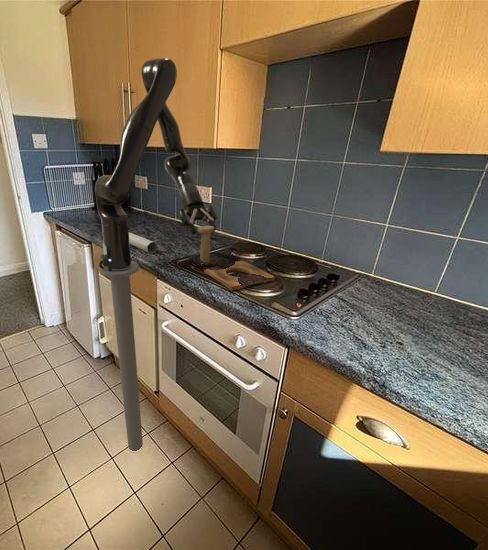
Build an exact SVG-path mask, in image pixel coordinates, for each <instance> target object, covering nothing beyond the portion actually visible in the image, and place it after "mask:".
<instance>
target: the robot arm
mask: <svg viewBox="0 0 488 550" xmlns="http://www.w3.org/2000/svg"><path fill="white" fill-rule="evenodd" d="M140 72H141V73H140V74H141V80H142V83H143V86H144V89H145V91H146V92H145V93H146V95H145V97H143V99H142V100H140V102H139V103H138V104H137V105H136V106H135V107H134V108H133V110H131V112H129V115H128V116H127V119H126V120H125V122H124V126H123V128H122V130H121V133H120V138H119V158H118V161H117V163H116V166H115V168H114V171H113V173H112V174H104V175H101V176H100V177H98V178H97V180H96V182H95V184H94V185H95V186H94V194H95V202H96V207H97V213H98V216H99V218H100V223H101V228H102V229H101V231H102V239H103V241H102V252H103V254H100V255H99V258H100V261H99V263H98V267H100V268H101V269H104V267H106V268H107V269H108V271H123V270H127V269H129V268H130V267H131V261H133V258H132V257H131V246H130V243H129V232H130V231H129V230H130V229H129V217H128V214H127V213H126V211H125V210H124V209H123V206H122V204H124V203H126V201H127V200H128V198H130V197H129V196H130V195H131V192H132V188H133V185H134V181H135V177H136V175H137V172H138V169H139V166H140V163H141V161H142V159H143V155H144V153H145V151H146V149H147V146H148V145H149V142H150V140H151V137H152V134H153V132H154V129H155V127H156V124H157V123H158V126H159V130H160V133H161V138H162V142H163V147H164V150H165V151H166V152H168V153H174V152H175V153H178V154H175V155H172V156H169V157H166V159H165V160H164V163H163V166H164V169H165V171H166V173H167V174H168V175H169V176H170V178H171V179H172V180H173V182H174V183H175V185H176V188H177V191H178V193H179V194H178V195H179V198H180V201H181V202H182V205H183V208H184V209H183V208H181V209H180V211H179V213H178V214H179V218H180V221H181V225H182V226H183V227H186V226H187V227H188V229H189V232H190V233H191V234H192V235H193V236H195V235H196V234H197V229H196V227H195V224H194V223H193V222H194V221H202V220H203V221H204V222H206V223H208V226H213V227H214V231H213V232H212V233H214V232H216V230H217V226H216V224H215V222H216V220H218V217H217V215H216V212H215V210H214V209H213V206H211V205H210V206H209V207H205V206H204V201H203V199H202V196H201V193H200V191H199V189H198V187H197V186H196V184H195V181H194V178H193V176H192V174H191V173H190V172H187V171H188V170H190V168H191V161H190V157H189V155H188V153H187V152H186V150H185V147H184V144H183V142H182V136H181V132H180V127H179V124H178V121H177V120H176V118H175V116H174V115H173V113H172V112H171V110H170V108H169V107H168V104H167V101H168V100H169V97H170V95H171V94H172V91H173V89H174V88H175V86H176V82H177V78H178V69H177V66H176V63H175V62H174V60H173V59H170V58H168V57H160V58H159V57H158V58H151V59H147V60H145V61H144V62H143V64H142V65H141V71H140ZM187 216H188V217H189V219H188V217H187ZM102 265H103V266H104V267H103V266H102Z"/></svg>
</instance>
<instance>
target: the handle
mask: <svg viewBox="0 0 488 550" xmlns="http://www.w3.org/2000/svg"><path fill="white" fill-rule="evenodd" d="M213 231H214V227H213V226H209V225H202V226H198V227H197V232H198V233H200V235H201V238H200V250H199V257H200V259H199V260H200V265H201V266H203V265H202V264H203V263H201V261H202V262H208V261H209V262H210V260H211V233H214V232H215V231H214V232H213Z"/></svg>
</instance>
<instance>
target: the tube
mask: <svg viewBox="0 0 488 550" xmlns="http://www.w3.org/2000/svg"><path fill="white" fill-rule="evenodd" d="M129 243H130V245H131V246H133V247H135V248H137V249H139V250H142V251H144V252H147V253H148V254H149V255H152V254H155V253H156V252H157V250H158V244H157V243H156V242H155V241H152V240H150V239H147V238H145V237H142V236H139V235H138V234H135V233H132V232H130V231H129Z"/></svg>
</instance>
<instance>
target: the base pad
mask: <svg viewBox="0 0 488 550" xmlns="http://www.w3.org/2000/svg"><path fill="white" fill-rule="evenodd" d="M234 262H235V264H234V265H232V266H230V267H229V268H226V269H223V270H210V269H206V270H204V269H203V273H205V274H206V275H208V276H209V277H211V278H212V279H214V280H215V281H216V282H218V283H220V284H221V285H223V286H224V287H225V288H227V289H229V290H230V291H231V292H233V291H237V290H242V289H245V288H247V287H246V286H245V285H243V286H240V285H241V284H239V282H238V278H240V276H233V275H231V274H228V273H231V272H242V273H245V274H247V275H248V276H249V275H251V274H256V275H261V276H264V277H266V278H267V279H268V278H272V279H268V280H264V281H261V282H264V283H263V284H266V283H269V282H274V281H275V275H272V274H270V273H268V272H266V271H264V270H263V269H260V268H259V267H257V266H255V265H253V264H250V262H247V261H246V260H238V261H234ZM228 269H230V270H228Z"/></svg>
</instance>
